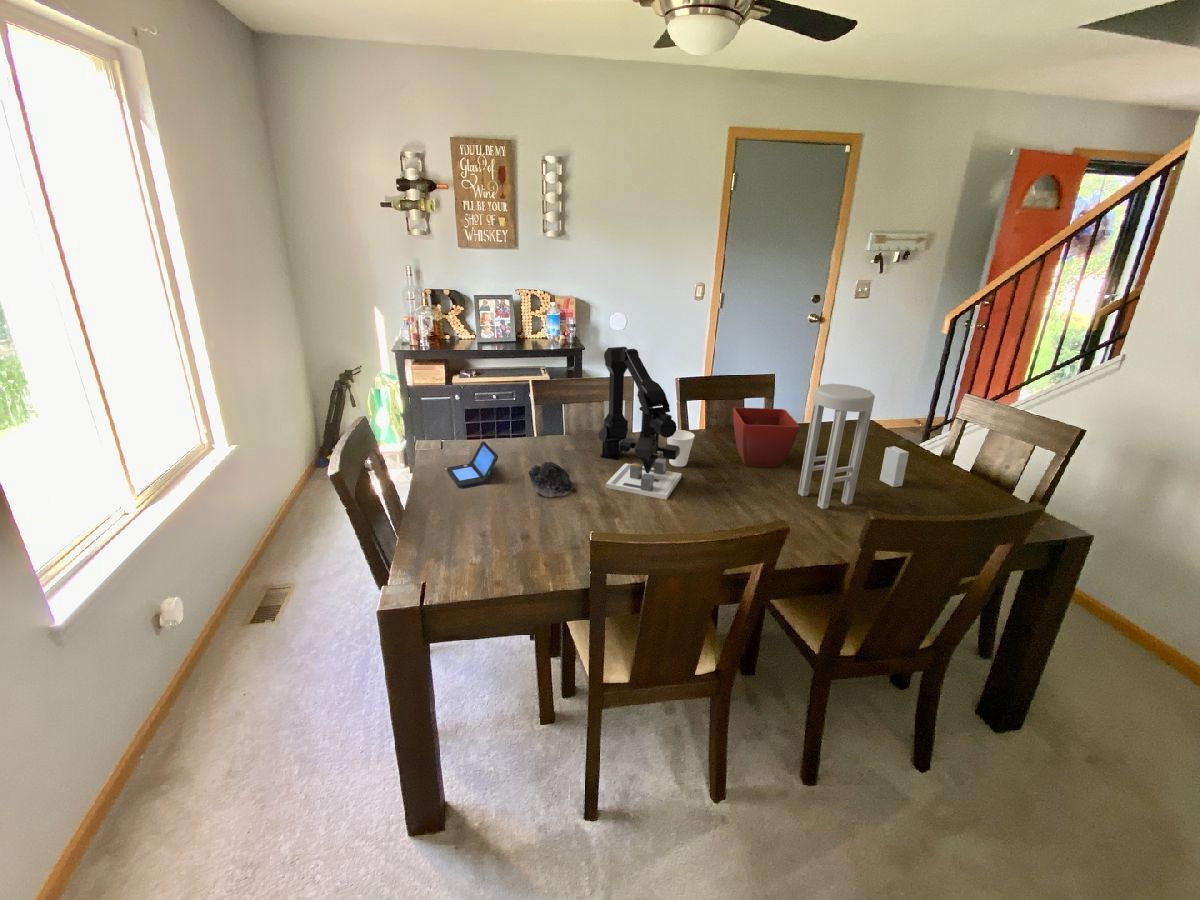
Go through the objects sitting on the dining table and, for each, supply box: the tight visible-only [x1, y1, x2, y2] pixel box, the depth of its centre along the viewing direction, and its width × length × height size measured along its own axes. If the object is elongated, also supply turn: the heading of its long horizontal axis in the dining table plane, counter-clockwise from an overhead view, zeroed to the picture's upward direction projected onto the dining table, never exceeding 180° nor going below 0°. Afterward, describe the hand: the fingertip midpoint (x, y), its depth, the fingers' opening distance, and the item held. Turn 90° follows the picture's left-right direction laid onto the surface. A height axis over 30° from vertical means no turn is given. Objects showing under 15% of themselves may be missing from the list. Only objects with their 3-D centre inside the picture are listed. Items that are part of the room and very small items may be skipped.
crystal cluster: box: [528, 461, 573, 498], centre depth 178 cm, size 13×14×10 cm
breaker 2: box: [653, 457, 667, 475], centre depth 189 cm, size 3×4×4 cm
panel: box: [605, 463, 682, 500], centre depth 185 cm, size 20×18×2 cm
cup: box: [666, 429, 696, 468], centre depth 199 cm, size 10×10×11 cm
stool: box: [797, 383, 876, 510], centre depth 171 cm, size 16×16×35 cm
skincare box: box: [879, 445, 910, 488], centre depth 188 cm, size 6×4×12 cm
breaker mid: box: [630, 462, 644, 479], centre depth 185 cm, size 3×4×4 cm
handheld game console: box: [446, 440, 499, 489], centre depth 185 cm, size 16×13×9 cm
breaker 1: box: [641, 474, 654, 491], centre depth 177 cm, size 3×4×4 cm
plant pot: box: [732, 406, 801, 468], centre depth 202 cm, size 19×19×17 cm
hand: (647, 472), depth 184 cm, fingers closed
